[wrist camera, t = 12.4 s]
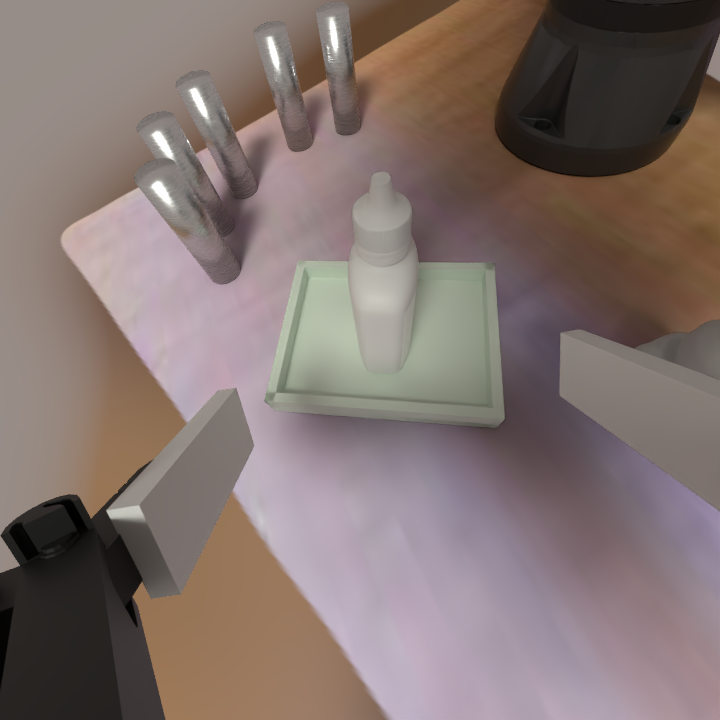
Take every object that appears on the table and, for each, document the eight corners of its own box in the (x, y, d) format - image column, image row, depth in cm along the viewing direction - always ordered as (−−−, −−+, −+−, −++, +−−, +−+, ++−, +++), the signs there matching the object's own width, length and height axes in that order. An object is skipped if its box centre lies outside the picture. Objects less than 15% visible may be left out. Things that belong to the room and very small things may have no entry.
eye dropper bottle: (433, 321, 23) (472, 150, 12) (390, 387, 22) (392, 254, 11) (379, 294, 25) (372, 118, 14) (334, 354, 23) (285, 206, 12)
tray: (487, 281, 25) (494, 263, 23) (495, 428, 21) (504, 419, 19) (304, 278, 27) (298, 260, 25) (275, 410, 23) (264, 401, 21)
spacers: (365, 122, 35) (354, 3, 27) (227, 288, 28) (155, 191, 20) (306, 109, 37) (280, -5, 29) (164, 259, 30) (75, 162, 22)
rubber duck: (710, 370, 21) (873, 289, 13) (698, 472, 18) (887, 440, 11) (612, 339, 22) (712, 251, 15) (590, 430, 20) (695, 378, 13)
